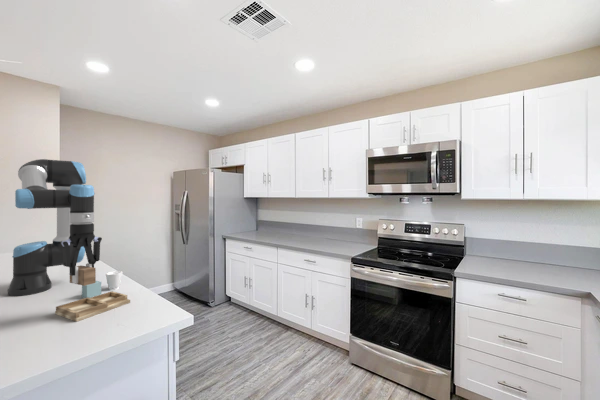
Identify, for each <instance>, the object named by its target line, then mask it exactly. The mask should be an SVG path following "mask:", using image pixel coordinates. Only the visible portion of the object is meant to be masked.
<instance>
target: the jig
mask: <svg viewBox="0 0 600 400" xmlns="http://www.w3.org/2000/svg"><path fill="white" fill-rule="evenodd" d="M130 303H131V299H128V294H125V293H121V292H116V291H114V290H110V291H108V292H105V293H101V295H98V296H94V297H91V298H88V297H87V298H81V299H78V300H73V301H70V302H68V303H64V304H61V305H57V306H55V311H54V313H55V315H57V316H59V317H63V318H66V319H68V320H71V321H73V322H76V323H77V322H80V321H84V320H86V319H88V318H91V317H94V316H97V315H100V314H103V313H105V312H108V311H111V310H114V309H116V308H120V307H122V306H124V305H127V304H130Z"/></svg>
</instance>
